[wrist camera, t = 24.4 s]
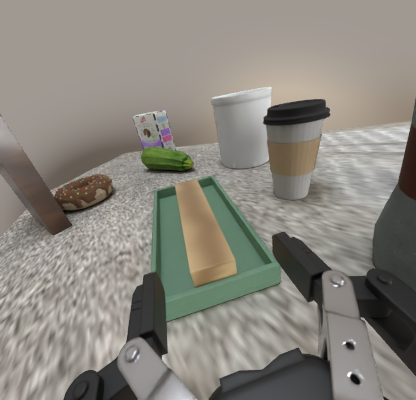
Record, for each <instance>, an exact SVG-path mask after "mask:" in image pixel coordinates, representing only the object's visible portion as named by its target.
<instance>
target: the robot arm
mask: <svg viewBox="0 0 416 400" xmlns="http://www.w3.org/2000/svg"><path fill="white" fill-rule="evenodd" d="M272 244H273V255H274V257H275V259H276V261H277V262H278V263H279V265H280V266H281V267H282V269H283V270H284V271H285V273H286V274H287V275H288V277H289V278H290V279H291V281H292V282H293V283H294V285H295V286H296V287H297V289H298V290H299V291H300V292H301V294H302V295H303V296H304V298H305V299H306V300H307V302H311V301H313V300H314V301H315V302H316V303H317V304H318V305H317V313H318V337H319V343H318V356H315V355H311V354H302V353H301V351H300V349H299V348H296V349H293V350H291V351H288V352H286V353H283V354H281V355H279V356H278V357H277V358H276V359H274V360H273V361H272V362H271V363H270V364H269V365H268V366H266V367H265V368H264V369H262V370H246V371H238V372H235V373H233V374H230V375H228V376H225V377H223V378H220V384H221V386H220V387H218V388H217V389H216V390H215V391H214V393H213V394H212V395H211V397H210V398H209V400H388V399H387V398H385V397H384V396H383V394H382V390H381V385H380V381H379V377H378V373H377V368H376V364H375V360H374V356H373V351H372V347H371V343H370V339H369V334H368V330H367V326H366V323H365V321H364V320H361V318H360V317H364V318H365V320H366V321H367V322H368V323H369V324H370V325H371V326H372V327H373V329H374V330H375V331H376V332H377V333H378V334H379V335H380V336H381V338H382V339H383V340H384V341H385V342H386V343H387V344H388V345H389V347H390V348H391V349H392V350H393V351H394V352H395V353H396V354H397V355H398V357H399V358H400V359H401V360H402V361H403V362H404V363H405V364H406V366H407V367H408V368H409V369H410V370H411V371H412V372H413V373H414V375H415V376H416V291H415V290H413V289H412V288H411V287H410V286H408V285H407V284H406V283H404V282H403V281H402V280H401V279H399V278H398V277H397V276H395V275H394V274H392V273H390V272H388V271H385V270H382V269H371V270H369V271H368V272H367V275H366V276H347V275H346V274H344V273H342V272H339V271H336V270H332V269H331V268H330V267H328V266H327V265H326V264H325V263H324V262H323V261H322V260H321V259H320V258H319V257H318V256H317V255H316V254H315V253H314V252H312V250H311V249H310V248H309V247H307V246H306V245H305V244H304V243H303V242H302V241H301V240H299V239H297V238H295V237H292V238H290V237H289V236H288V235H287V234H286V233H285V232H281V233H278V234H275V235H273V236H272ZM167 353H168V350H167V325H166V299H165V291H164V287H163V285H162V282H161V280H160V278H159V276H158V274H157V272H156V271H155V272H152V273H149V274H146V275H144V277H143V285H140V286H137V288H136V289H135V291H134V293H133V297H132V305H131V312H130V320H129V327H128V335H127V341H126V344H125V345H124V346H123V348H122V349H121V351H120V353H119V355H118V357H117V358H116V359H115V360H113V361H112V362H111V363H110V364H108V365H107V366H105V367H104V368H103V369H101V370H100V371H98V372H96V371H94V370H88V371H85V372H83V373H82V374H80V375H79V376H78V377H77V378H76V379H75V380H74V381H73V382H72V384H71V385H70V386H69V388H68V390H67V392H66V394H65V397H64V400H198V399H197V398H196V397H195V396H194V395H193V394H192V393H191V391H190V390H189V389H188V388H187V387H186V386H185V384H184V383H183V382H182V381H181V380H180V379H179V378H178V376H177V375H176V374H175V373H174V372H173V371H172V370H171V369H169V368H168V367H167V365H166V364H165V363H164V362H163V361H162V355H164V354H167Z"/></svg>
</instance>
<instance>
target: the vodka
mask: <svg viewBox="0 0 416 400" xmlns="http://www.w3.org/2000/svg"><path fill="white" fill-rule="evenodd" d="M373 259H374V264H375V266H376V268H377V269H382V270H385V271H388V272H390V273H392V274H394V275H395V276H397V277H398V278H399V279H401V280H402V281H403V282H404V283H406V284H407V285H408V286H410V287H411V288H412V289H413V290H415V291H416V100H415V106H414V112H413V117H412V123H411V128H410V132H409V136H408V141H407V145H406V150H405V154H404V158H403V163H402V167H401V172H400V176H399V180H398V184H397V185H396V187H395V189H394V191H393V192H392V194H391V196H390V198H389V199H388V201H387V203H386V205H385V207H384V209H383V211H382V213H381V214H380V216H379V218H378V220H377V222H376V224H375V229H374V237H373Z"/></svg>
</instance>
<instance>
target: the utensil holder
mask: <svg viewBox="0 0 416 400" xmlns="http://www.w3.org/2000/svg"><path fill="white" fill-rule="evenodd" d="M271 94H272V87H266V88H259V89H253V90H247V91H242V92H236V93H231V94H226V95H222V96H217V97H214V98H211V103H212V105H213V109H214V116H215V123H216V129H217V135H218V142H219V148H220V154H221V159H222V164H223V165H224V166H226V167H228V168H235V169H244V168H252V167H256V166H259V165H262V164H264V163H266V162H267V161H268V160H269V154H268V146H267V139H268V138H267V130H266V125H265V124H263V121H264V119H263V118H264V116H266V115H267V109H268V108H269V107H271Z"/></svg>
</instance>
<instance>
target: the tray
mask: <svg viewBox="0 0 416 400" xmlns="http://www.w3.org/2000/svg"><path fill="white" fill-rule="evenodd" d="M197 180H198V183H199V185H200V187H201V189H202V191H203V193H204V195H205V197H206V199H207V201H208V203H209V206H210V208H211V210H212V212H213V214H214V216H215V218H216V220H217V222H218V224H219V227H220V229H221V231H222V233H223V235H224V237H225V239H226V241H227V243H228V245H229V247H230V250H231V252H232V254H233V256H234V258H235V262H236V269H237V274H236V275H233V276H230V277H227V278H224V279H221V280H218V281H215V282H211V283H208V284H205V285H202V286H199V287H196V288H195V286H194V283H193V280H192V277H191V274H190V269H189V264H188V258H187V252H186V246H185V241H184V235H183V229H182V223H181V218H180V212H179V206H178V201H177V195H176V189H175V185H174V186H170V187H166V188H162V189H158V190H155V191H154V209H153V232H152V254H151V273H152V272H155V271H156V272H157V274H158V276H159V278H160V280H161V282H162V285H163V287H164V291H165V299H166V322H167V321H170V320H173V319H176V318H179V317H182V316H185V315H188V314H191V313H194V312H197V311H200V310H203V309H206V308H208V307H211V306H214V305H217V304H220V303H223V302H226V301H229V300H232V299H235V298H238V297H241V296H244V295H247V294H249V293H252V292H255V291H258V290H261V289H264V288H267V287H270V286H273V285H276V284H279V283H280V270H281V266H280V265H279V263H278V262H277V261H276V259H275V257H274V256H273V254H272V253H271V252H270V250H269V249H268V248H267V246H266V245H265V244H264V242H263V241H262V240H261V238H260V237H259V236H258V234H257V233H256V232H255V230H254V229H253V228H252V226H251V225H250V224H249V223H248V221H247V220H246V219H245V217H244V216H243V215H242V213H241V212H240V211H239V209H238V208H237V207H236V205H235V204H234V203H233V201H232V200H231V199H230V197H229V196H228V195H227V193H226V192H225V191H224V189H223V188H222V187H221V186H220V184H219V183H218V182H217V180H216V179H215V178H214V176H209V177H205V178H201V179H197Z"/></svg>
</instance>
